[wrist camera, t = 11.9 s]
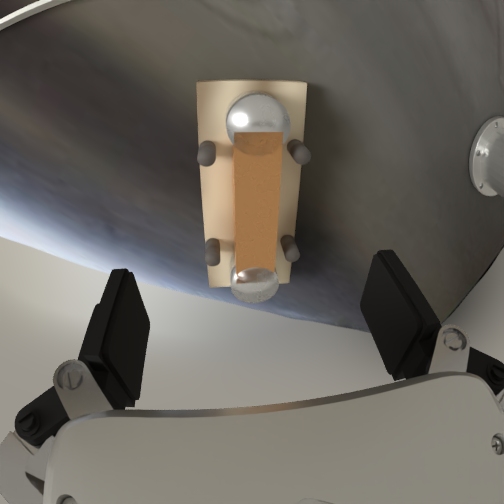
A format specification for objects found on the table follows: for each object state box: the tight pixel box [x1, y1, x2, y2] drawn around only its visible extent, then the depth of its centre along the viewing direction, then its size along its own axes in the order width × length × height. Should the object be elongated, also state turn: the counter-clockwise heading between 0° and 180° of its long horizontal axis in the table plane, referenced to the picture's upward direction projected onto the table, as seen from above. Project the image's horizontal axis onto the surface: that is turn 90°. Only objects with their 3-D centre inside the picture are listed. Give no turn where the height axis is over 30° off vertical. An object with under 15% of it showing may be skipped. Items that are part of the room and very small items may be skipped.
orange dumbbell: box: [225, 90, 291, 303], centre depth 30 cm, size 5×22×4 cm, turn 179°
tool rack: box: [197, 79, 311, 287], centre depth 31 cm, size 10×24×5 cm, turn 179°
